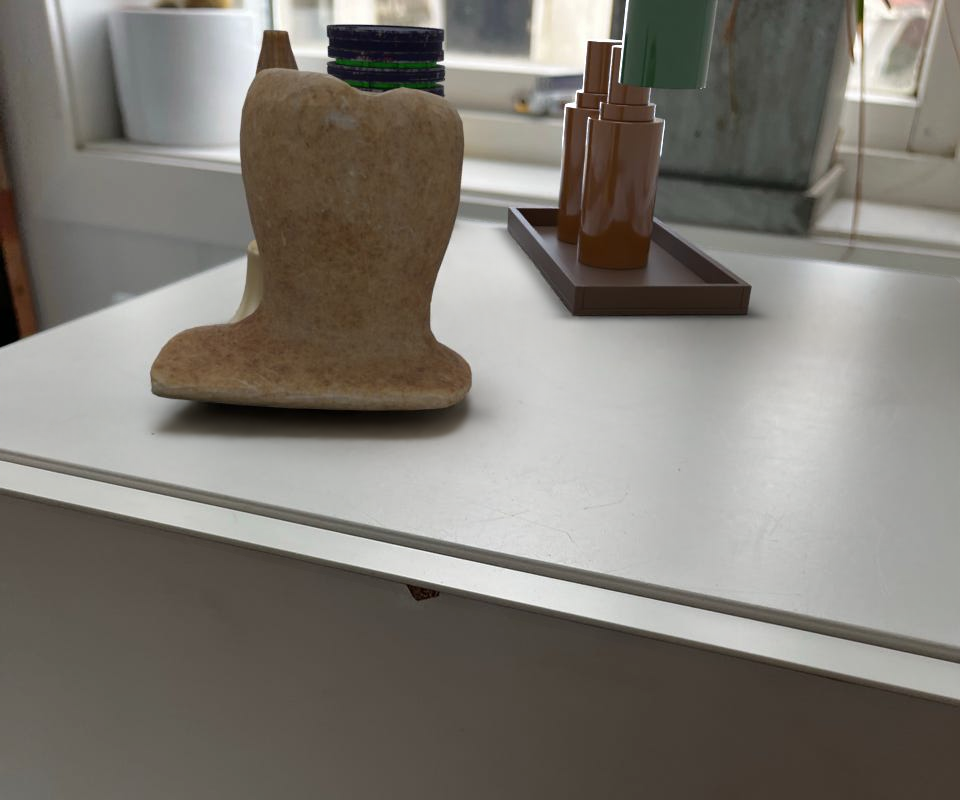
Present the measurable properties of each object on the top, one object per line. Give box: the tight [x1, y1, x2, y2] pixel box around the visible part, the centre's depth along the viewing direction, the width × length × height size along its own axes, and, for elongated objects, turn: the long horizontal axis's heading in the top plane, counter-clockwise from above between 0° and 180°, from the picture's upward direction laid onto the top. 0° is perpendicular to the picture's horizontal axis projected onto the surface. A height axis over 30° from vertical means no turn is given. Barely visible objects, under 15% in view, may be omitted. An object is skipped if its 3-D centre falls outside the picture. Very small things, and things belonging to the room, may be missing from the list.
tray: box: [506, 206, 753, 316], centre depth 79 cm, size 12×27×2 cm, turn 8°
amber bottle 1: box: [556, 38, 623, 245], centre depth 82 cm, size 6×6×14 cm
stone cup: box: [149, 68, 473, 412], centre depth 49 cm, size 15×12×15 cm
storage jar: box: [326, 23, 446, 98], centre depth 87 cm, size 10×10×15 cm
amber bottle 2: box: [576, 46, 666, 270], centre depth 75 cm, size 6×6×14 cm
